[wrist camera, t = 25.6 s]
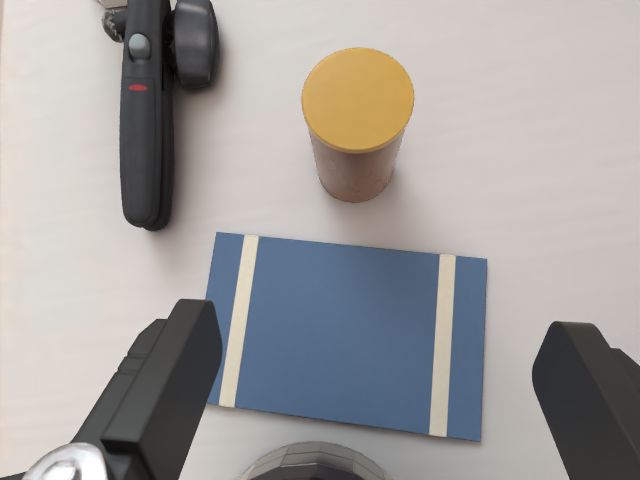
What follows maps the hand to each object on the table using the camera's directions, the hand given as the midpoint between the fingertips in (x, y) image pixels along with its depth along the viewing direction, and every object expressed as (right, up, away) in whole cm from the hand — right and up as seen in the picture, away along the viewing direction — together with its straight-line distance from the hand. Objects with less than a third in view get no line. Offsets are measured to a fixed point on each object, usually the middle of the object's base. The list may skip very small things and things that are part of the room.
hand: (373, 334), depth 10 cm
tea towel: (0, -3, +16) cm, 17 cm away
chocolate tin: (+1, +7, +18) cm, 20 cm away
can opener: (-12, +11, +20) cm, 26 cm away
